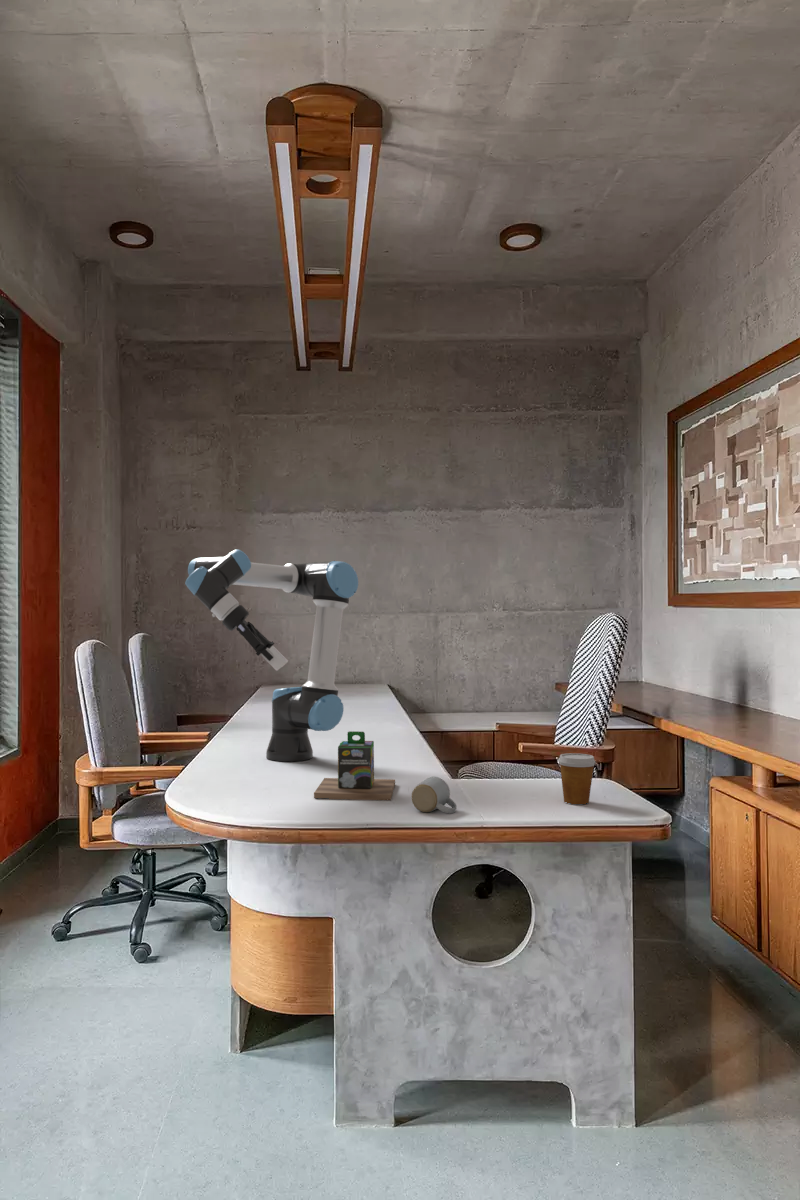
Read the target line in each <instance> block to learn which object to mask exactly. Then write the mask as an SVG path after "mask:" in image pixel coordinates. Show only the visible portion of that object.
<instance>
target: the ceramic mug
mask: <svg viewBox="0 0 800 1200" xmlns="http://www.w3.org/2000/svg"><path fill="white" fill-rule="evenodd" d="M450 796H451V790H450V787H449V785H448V784H447V782H446V780H443V778H442V777H439V776H429V777H427V778H425V779H424V780H423V781H421V782H420V783H418V784H417V785H415V787H414V788H413V789H412V793H411V797H410V798H411V803H412V804H413V806H414V808H415V809H417V810H418V811H419V812H422V813H430V812H433V811H435V810H439V811H440V812H443V813H445V814H451V815H452V814H454V813H455V812H456V810H457V808H458V806H457V803H456V802H455V801H454V800H453V799H451V798H450ZM445 805H449V806H450V807H448V806H445Z"/></svg>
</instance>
